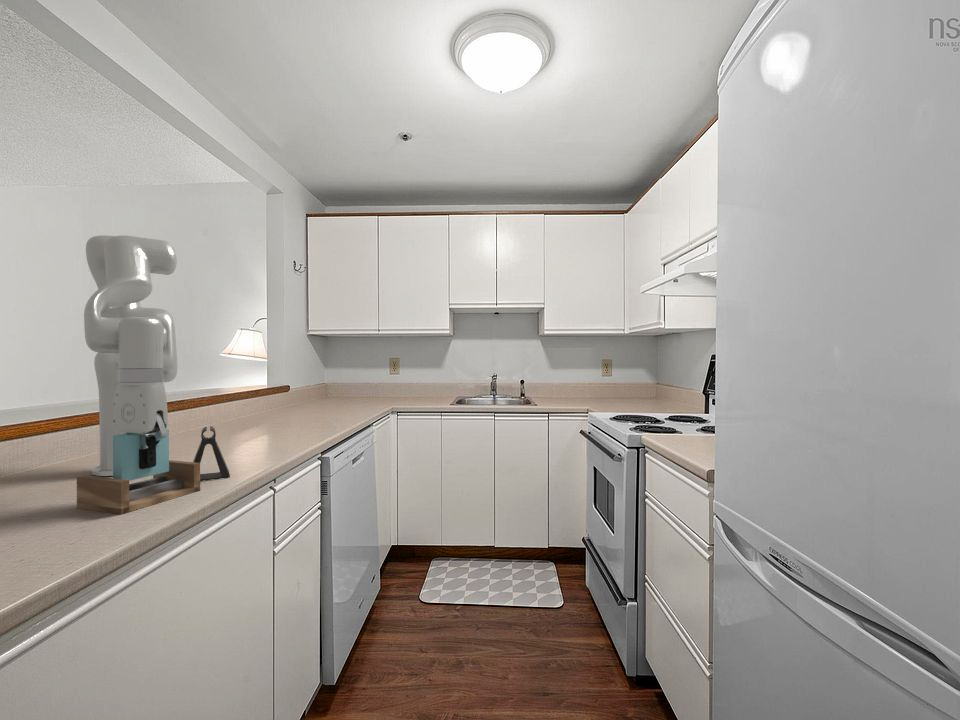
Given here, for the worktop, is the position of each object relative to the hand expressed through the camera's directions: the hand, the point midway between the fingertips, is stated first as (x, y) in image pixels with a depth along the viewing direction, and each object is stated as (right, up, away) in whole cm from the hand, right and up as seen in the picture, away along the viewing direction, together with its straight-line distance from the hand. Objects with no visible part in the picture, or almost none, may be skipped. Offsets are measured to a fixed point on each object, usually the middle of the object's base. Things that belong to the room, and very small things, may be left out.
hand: (142, 466), depth 100 cm
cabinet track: (0, -7, 0) cm, 7 cm away
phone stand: (+4, -7, +18) cm, 19 cm away
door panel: (0, -2, 0) cm, 2 cm away
